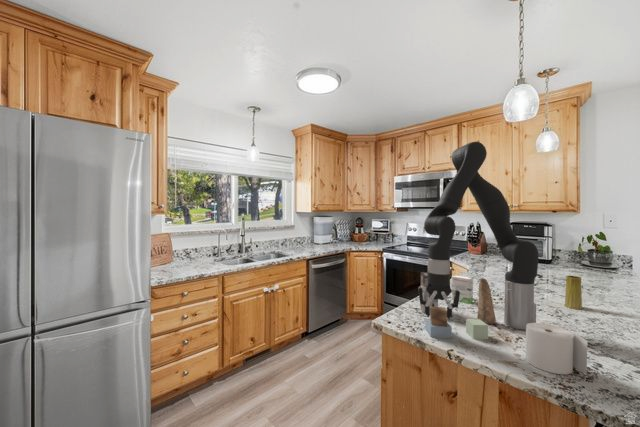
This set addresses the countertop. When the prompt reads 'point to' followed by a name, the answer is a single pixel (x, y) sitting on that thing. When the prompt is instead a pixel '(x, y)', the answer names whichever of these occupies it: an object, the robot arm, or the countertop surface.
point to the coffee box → (423, 284)
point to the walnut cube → (438, 316)
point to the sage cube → (476, 329)
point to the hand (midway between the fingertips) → (438, 317)
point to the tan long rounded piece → (485, 303)
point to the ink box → (463, 288)
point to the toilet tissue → (555, 349)
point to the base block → (438, 330)
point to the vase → (573, 292)
